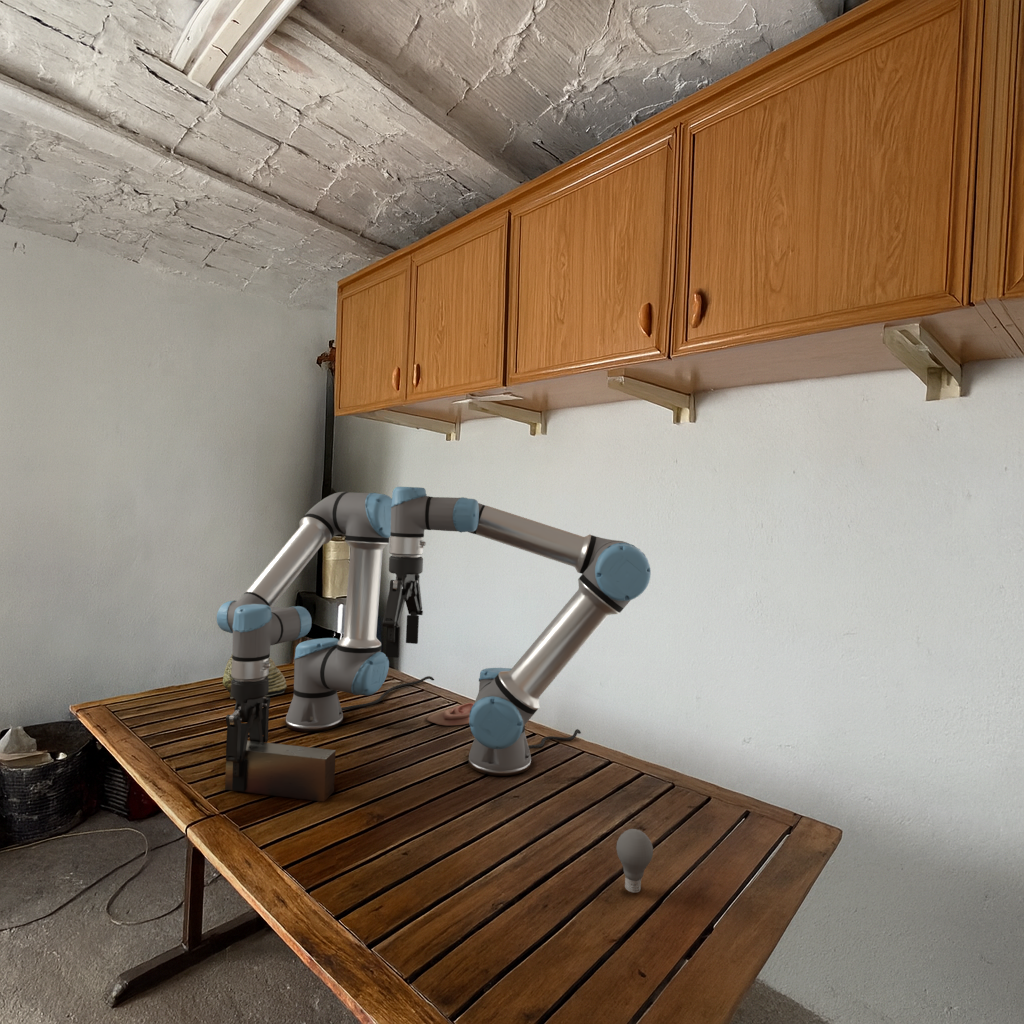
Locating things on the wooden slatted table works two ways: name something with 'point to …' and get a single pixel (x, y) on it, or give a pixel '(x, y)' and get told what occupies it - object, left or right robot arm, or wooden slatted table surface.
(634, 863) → the light bulb
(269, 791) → the bar
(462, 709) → the anatomical model
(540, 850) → the wooden slatted table surface
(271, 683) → the fossil
